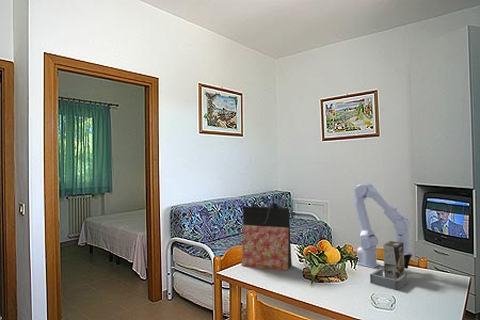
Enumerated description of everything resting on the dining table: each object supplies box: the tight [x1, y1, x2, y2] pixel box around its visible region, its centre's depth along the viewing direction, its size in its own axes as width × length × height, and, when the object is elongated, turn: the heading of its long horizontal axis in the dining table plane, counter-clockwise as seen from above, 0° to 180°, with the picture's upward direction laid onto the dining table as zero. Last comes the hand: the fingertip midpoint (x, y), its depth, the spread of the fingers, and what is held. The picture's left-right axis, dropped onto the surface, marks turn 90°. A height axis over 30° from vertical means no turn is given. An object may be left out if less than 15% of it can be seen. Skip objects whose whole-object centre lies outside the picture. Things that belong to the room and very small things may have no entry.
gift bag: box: [241, 202, 296, 272], centre depth 168 cm, size 29×14×35 cm, turn 69°
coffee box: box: [383, 240, 406, 280], centre depth 149 cm, size 9×6×16 cm
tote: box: [369, 267, 408, 291], centre depth 142 cm, size 12×12×4 cm
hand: (403, 269), depth 155 cm, fingers open, 5 cm apart
